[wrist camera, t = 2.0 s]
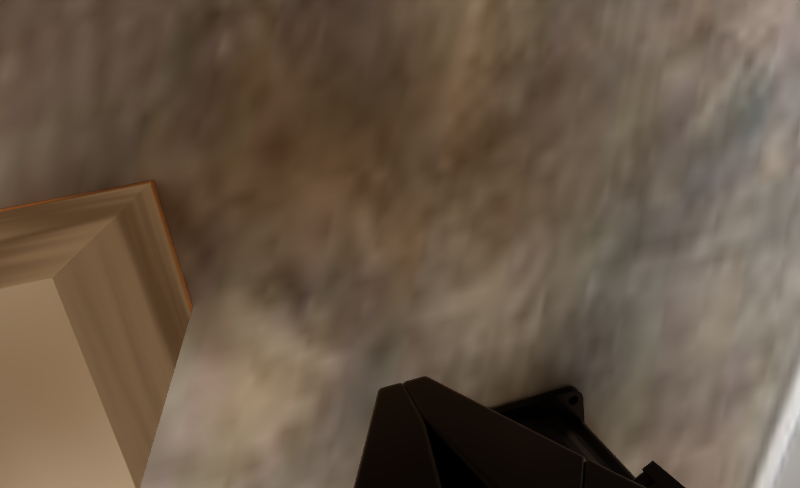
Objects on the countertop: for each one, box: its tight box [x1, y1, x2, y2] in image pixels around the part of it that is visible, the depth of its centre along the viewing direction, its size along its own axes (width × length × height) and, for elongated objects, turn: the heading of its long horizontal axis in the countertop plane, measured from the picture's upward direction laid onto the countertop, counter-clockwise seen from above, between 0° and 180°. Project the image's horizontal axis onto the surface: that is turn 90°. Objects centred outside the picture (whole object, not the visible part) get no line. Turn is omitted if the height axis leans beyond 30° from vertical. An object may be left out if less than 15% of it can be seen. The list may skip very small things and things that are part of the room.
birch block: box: [0, 180, 193, 488], centre depth 15 cm, size 5×5×10 cm
